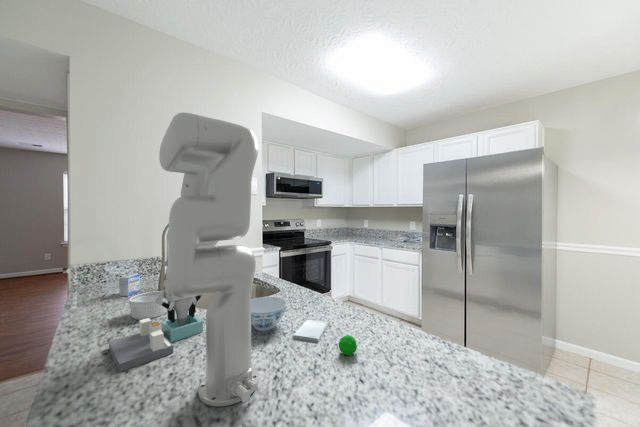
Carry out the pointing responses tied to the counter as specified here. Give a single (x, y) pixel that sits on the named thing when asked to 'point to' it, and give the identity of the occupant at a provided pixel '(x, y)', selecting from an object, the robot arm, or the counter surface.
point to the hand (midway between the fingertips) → (181, 318)
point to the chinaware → (266, 312)
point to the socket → (182, 328)
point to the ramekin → (146, 306)
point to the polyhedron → (347, 345)
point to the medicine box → (129, 285)
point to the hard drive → (311, 330)
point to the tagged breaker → (154, 327)
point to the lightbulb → (182, 310)
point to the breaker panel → (139, 347)
